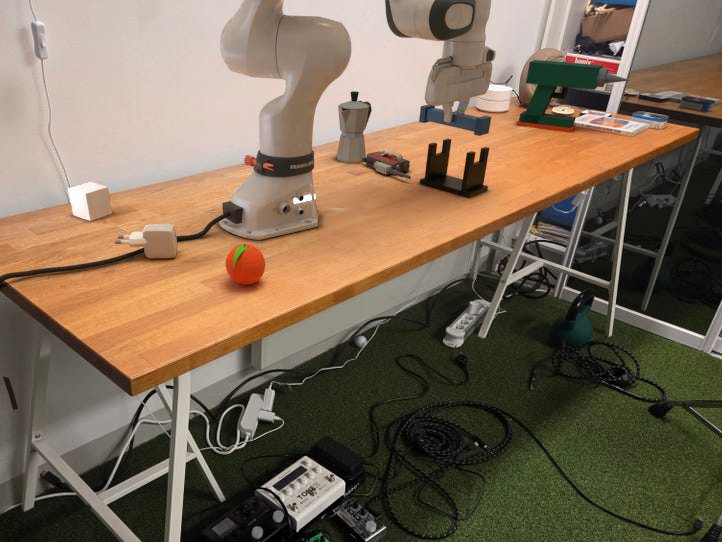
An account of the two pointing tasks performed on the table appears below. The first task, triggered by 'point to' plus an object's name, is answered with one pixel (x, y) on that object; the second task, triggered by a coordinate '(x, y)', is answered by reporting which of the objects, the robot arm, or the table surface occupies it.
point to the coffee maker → (353, 129)
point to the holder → (463, 187)
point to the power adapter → (153, 240)
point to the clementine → (245, 264)
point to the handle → (456, 120)
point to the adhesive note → (90, 201)
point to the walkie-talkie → (388, 163)
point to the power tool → (566, 77)
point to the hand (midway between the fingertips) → (453, 120)
